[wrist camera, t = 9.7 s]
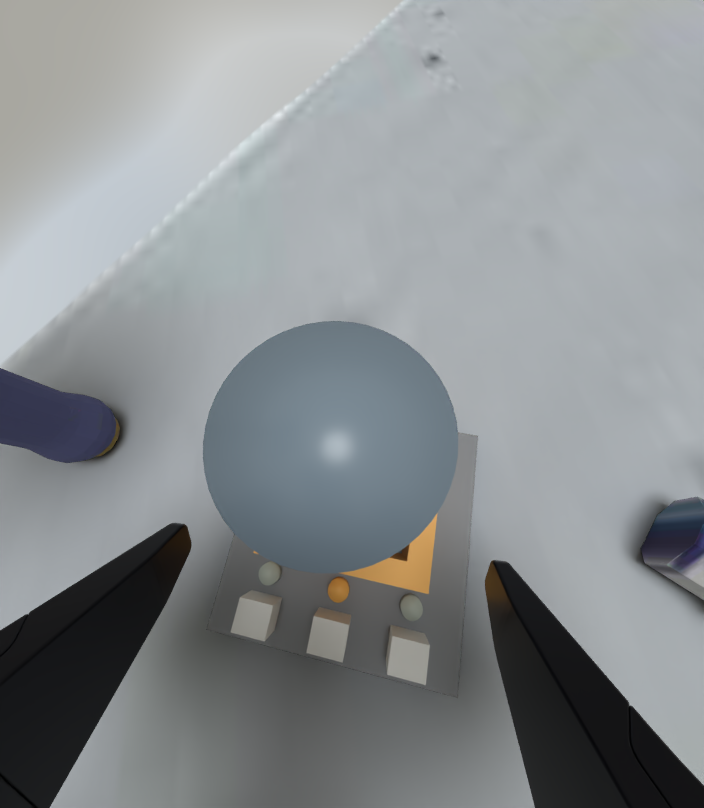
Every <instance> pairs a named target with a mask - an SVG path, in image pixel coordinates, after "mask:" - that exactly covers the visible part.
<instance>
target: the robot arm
mask: <svg viewBox="0 0 704 808" xmlns="http://www.w3.org/2000/svg"><path fill="white" fill-rule="evenodd" d="M190 550H191V539H190V535H189V532H188V528H187V526H186V525H185V524H180V523H171V524H169V525H168V526H166V527H164V528H163V529H161V530H160V531H158V532H156V533H155V534H153V535H152V536H150V537H149V538H147V539H145V540H144V541H142V542H141V543H139V544H137V545H136V546H134V547H133V548H131V549H129V550H128V551H126V552H125V553H123V554H121V555H120V556H118V557H117V558H115V559H113V560H112V561H110V562H109V563H107V564H106V565H104V566H102V567H101V568H99V569H98V570H96V571H94V572H93V573H91V574H90V575H88V576H86V577H85V578H83V579H82V580H80V581H78V582H77V583H75V584H74V585H72V586H71V587H69V588H67V589H66V590H64V591H63V592H61V593H59V594H58V595H56V596H55V597H53V598H51V599H50V600H48V601H47V602H45V603H43V604H42V605H40V606H39V607H37V608H35V609H34V610H32V611H31V612H30V613H29V614H26V615H24V616H23V617H21V618H19V619H18V620H16V621H15V622H13V623H11V624H10V625H8V626H7V627H5V628H3V629H2V630H0V808H50V806H51V804H52V802H53V801H54V799H55V797H56V795H57V794H58V792H59V790H60V788H61V787H62V785H63V783H64V781H65V780H66V778H67V776H68V774H69V773H70V771H71V769H72V767H73V766H74V764H75V762H76V760H77V759H78V757H79V755H80V753H81V752H82V750H83V748H84V746H85V745H86V743H87V741H88V739H89V738H90V736H91V734H92V732H93V731H94V729H95V727H96V725H97V724H98V722H99V720H100V718H101V717H102V715H103V713H104V711H105V710H106V708H107V706H108V704H109V703H110V701H111V699H112V697H113V696H114V694H115V692H116V690H117V689H118V687H119V685H120V683H121V682H122V680H123V678H124V676H125V675H126V673H127V671H128V669H129V668H130V666H131V664H132V662H133V661H134V659H135V657H136V655H137V654H138V652H139V650H140V648H141V647H142V645H143V643H144V641H145V640H146V638H147V636H148V634H149V633H150V631H151V629H152V627H153V626H154V624H155V622H156V620H157V619H158V617H159V615H160V613H161V612H162V610H163V608H164V606H165V604H166V602H167V600H168V598H169V596H170V594H171V592H172V590H173V588H174V585H175V583H176V581H177V579H178V577H179V574H180V572H181V570H182V568H183V566H184V563H185V561H186V559H187V557H188V555H189V553H190ZM485 590H486V596H487V603H488V609H489V616H490V622H491V629H492V635H493V641H494V647H495V652H496V656H497V661H498V664H499V668H500V672H501V676H502V680H503V684H504V688H505V692H506V696H507V700H508V704H509V707H510V711H511V715H512V719H513V723H514V727H515V731H516V735H517V739H518V743H519V746H520V750H521V754H522V758H523V762H524V766H525V770H526V774H527V778H528V782H529V786H530V789H531V793H532V797H533V801H534V805H535V808H704V785H703V784H702V783H701V782H700V781H699V780H698V779H697V778H696V777H695V776H694V775H693V774H692V772H691V771H690V770H689V769H688V768H687V767H686V766H685V765H684V764H683V763H682V762H681V761H680V760H679V759H678V758H677V756H676V755H675V754H674V753H673V752H672V751H671V750H670V749H669V747H668V746H667V745H666V744H665V743H664V742H663V741H662V740H661V738H660V737H659V736H658V735H657V734H656V733H655V732H654V731H653V729H652V728H651V727H650V726H649V725H648V724H647V723H646V721H645V720H644V719H643V718H642V717H641V716H640V714H639V713H638V712H637V711H636V710H635V709H634V707H632V706H629V702H628V701H627V700H626V698H625V697H624V696H623V695H622V694H621V693H620V691H619V690H618V689H617V688H616V687H615V686H614V684H613V683H612V682H611V681H610V680H609V679H608V678H607V676H606V675H605V674H604V673H603V672H602V671H601V669H600V668H599V667H598V666H597V665H596V664H595V662H594V661H593V660H592V659H591V658H590V657H589V655H588V654H587V653H586V652H585V651H584V650H583V649H582V647H581V646H580V645H579V644H578V643H577V642H576V640H575V639H574V638H573V637H572V636H571V635H570V633H569V632H568V631H567V630H566V629H565V628H564V627H563V625H562V624H561V623H560V622H559V621H558V620H557V618H556V617H555V616H554V615H553V614H552V613H551V611H550V610H549V609H548V608H547V607H546V606H545V605H544V603H543V602H542V601H541V600H540V599H539V598H538V596H537V595H536V594H535V593H534V592H533V591H532V589H531V588H530V587H529V586H528V585H527V584H526V582H525V581H524V580H523V579H522V578H521V577H520V576H519V574H518V573H517V572H516V571H515V570H514V569H513V567H512V566H511V565H510V564H509V563H507V562H505V561H497V560H493V561H491V563H490V566H489V569H488V572H487V576H486V579H485Z"/></svg>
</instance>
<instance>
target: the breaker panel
mask: <svg viewBox="0 0 704 808" xmlns="http://www.w3.org/2000/svg"><path fill="white" fill-rule="evenodd" d="M477 441H478V436H476V435H470V434H464V433H458V458H457V463H456V469H455V474H454V477H453V480H452V484H451V487H450V490H449V492H448V494H447V496H446V498H445V500H444V503H443V505H442V506H441V508H440V510H439V511H438V513H437V514H436V516H435V517H434V519H433V520H432V522H431V523H430V524H429V525H428V526H427V527H426V528H425V530H424V531H423V532H422V533H421V534H420V535H419V536H418V537H417V538H416V539H415V540H413V541H412V542H411V543H410V544H409V545H408V546H406V547H405V548H404V549H402V550H400V551H399V552H397V553H396V554H394V555H393V556H391V557H390V558H387V559H385V560H383V561H381V562H379V563H376V564H374V565H372V566H369V567H365V568H362V569H358V570H355V571H349V572H342V573H311V572H305V571H298V570H295V569H291V568H288V567H285V566H282V565H279V564H277V563H275V562H273V561H271V560H269V559H267V558H265V557H263V556H261V555H260V554H258V553H257V552H255V551H254V550H252V549H251V548H250V547H248V546H247V545H246V544H245V543H244V542H243V541H242V540H241V539H240V538H238V537H237V536H236V535H235V534H234V536H233V540H232V543H231V547H230V550H229V554H228V557H227V561H226V564H225V567H224V571H223V574H222V578H221V581H220V585H219V588H218V592H217V595H216V598H215V602H214V605H213V609H212V612H211V616H210V619H209V623H208V626H207V629H206V630H210V631H214V632H217V633H221V634H225V635H228V636H232V637H236V638H239V639H243V640H247V641H250V642H254V643H258V644H261V645H265V646H269V647H272V648H276V649H280V650H284V651H287V652H291V653H295V654H298V655H302V656H306V657H309V658H313V659H317V660H320V661H324V662H328V663H331V664H335V665H339V666H342V667H346V668H350V669H353V670H357V671H361V672H364V673H368V674H372V675H375V676H379V677H383V678H387V679H390V680H394V681H398V682H401V683H405V684H409V685H412V686H416V687H420V688H423V689H427V690H431V691H434V692H438V693H442V694H445V695H449V696H453V697H456V698H458V686H459V673H460V660H461V647H462V635H463V622H464V609H465V596H466V583H467V570H468V557H469V544H470V532H471V519H472V506H473V493H474V480H475V467H476V454H477Z"/></svg>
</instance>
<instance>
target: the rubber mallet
mask: <svg viewBox="0 0 704 808" xmlns="http://www.w3.org/2000/svg"><path fill="white" fill-rule="evenodd" d="M119 431H120V427H119V424H118V421H117V419H116V418H115V417H114V414H113V413H112V411H111V409H110V408H108V407H107V406H106V405H105V404H104V403H103V402H102V401H100V400H98V399H95V398H92V397H89V396H85V395H80V394H73V393H65V392H60V391H58V390H55V389H52V388H50V387H47V386H45V385H42V384H40V383H37V382H34V381H32V380H29V379H27V378H24V377H22V376H19V375H16V374H14V373H11V372H9V371H6V370H3V369H1V368H0V443H2V444H7V445H12V446H17V447H22V448H26V449H29V450H31V451H33V452H35V453H37V454H39V455H41V456H43V457H46V458H48V459H51V460H55V461H59V462H65V463H71V462H78V461H85V460H88V459H91V458H93V457H98V456H102V455H103V454H105V453H106V452H107V451H109V450H110V449H112V447H113V446H114V444H115V443H116V441H117V440H118V437H119Z"/></svg>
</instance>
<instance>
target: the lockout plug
mask: <svg viewBox="0 0 704 808" xmlns="http://www.w3.org/2000/svg"><path fill="white" fill-rule="evenodd" d="M457 458H458V430H457V421H456V417H455V413H454V409H453V405H452V403H451V400H450V398H449V395H448V393H447V390H446V389H445V387H444V385H443V383H442V381H441V380H440V378H439V376H438V375H437V374H436V372H435V371H434V370H433V368H432V367H431V365H430V364H429V363H428V362H427V361H426V360H425V359H424V358H423V357H422V356H421V355H420V354H419V353H418V352H417V351H415V350H414V349H413V348H412V347H411V346H409V345H408V344H407V343H405V342H403V341H402V340H400V339H399V338H397V337H395V336H393V335H391V334H389V333H387V332H385V331H383V330H380V329H377V328H374V327H371V326H368V325H363V324H358V323H353V322H342V321H329V322H318V323H311V324H306V325H303V326H299V327H295V328H292V329H290V330H287V331H284V332H282V333H280V334H278V335H276V336H274V337H272V338H270V339H268V340H267V341H265V342H264V343H262V344H261V345H259V346H258V347H256V348H255V349H254V350H252V351H251V352H250V353H249V354H248V355H247V356H245V357H244V358H243V359H242V360H241V361H240V362H239V363H238V365H237V366H236V367H235V368H234V369H233V370H232V371H231V373H230V374H229V375H228V377H227V378H226V380H225V381H224V382H223V384H222V386H221V388H220V389H219V391H218V393H217V395H216V397H215V399H214V402H213V404H212V406H211V409H210V412H209V415H208V419H207V423H206V427H205V434H204V440H203V461H204V470H205V476H206V480H207V484H208V488H209V491H210V494H211V496H212V499H213V501H214V503H215V506H216V508H217V509H218V511H219V513H220V514H221V516H222V518H223V519H224V521H225V522H226V524H227V525H228V526H229V527H230V529H231V530H232V531H233V532H234V534H235V535H236V536H237V537H238V538H240V539H241V540H242V541H243V542H244V543H245V544H246V545H247V546H248V547H250V548H251V549H252V550H254V551H255V552H257V553H258V554H260V555H261V556H263V557H265V558H267V559H269V560H271V561H273V562H275V563H277V564H279V565H282V566H285V567H288V568H291V569H295V570H298V571H305V572H311V573H342V572H349V571H355V570H358V569H362V568H365V567H369V566H372V565H374V564H376V563H379V562H381V561H383V560H385V559H387V558H390V557H391V556H393V555H394V554H396V553H397V552H399V551H400V550H402V549H404V548H405V547H406V546H408V545H409V544H410V543H411V542H412V541H413V540H415V539H416V538H417V537H418V536H419V535H420V534H421V533H422V532H423V531H424V530H425V528H426V527H427V526H428V525H429V524H430V523H431V522H432V520H433V519H434V517H435V516H436V514H437V513H438V511H439V510H440V508H441V506H442V505H443V503H444V500H445V498H446V496H447V494H448V492H449V490H450V487H451V484H452V480H453V477H454V474H455V469H456V463H457Z"/></svg>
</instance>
